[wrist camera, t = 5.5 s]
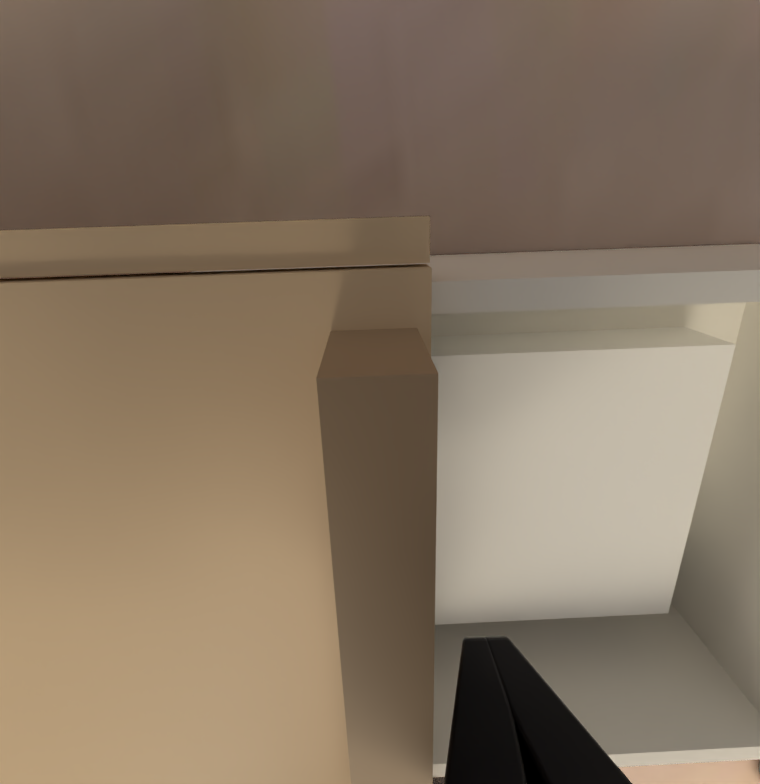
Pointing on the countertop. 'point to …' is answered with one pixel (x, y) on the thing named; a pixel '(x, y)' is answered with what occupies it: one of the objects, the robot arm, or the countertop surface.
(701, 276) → the mailer box
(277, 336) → the lid
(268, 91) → the countertop surface
